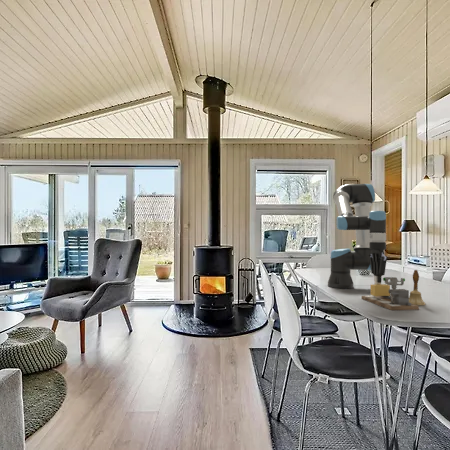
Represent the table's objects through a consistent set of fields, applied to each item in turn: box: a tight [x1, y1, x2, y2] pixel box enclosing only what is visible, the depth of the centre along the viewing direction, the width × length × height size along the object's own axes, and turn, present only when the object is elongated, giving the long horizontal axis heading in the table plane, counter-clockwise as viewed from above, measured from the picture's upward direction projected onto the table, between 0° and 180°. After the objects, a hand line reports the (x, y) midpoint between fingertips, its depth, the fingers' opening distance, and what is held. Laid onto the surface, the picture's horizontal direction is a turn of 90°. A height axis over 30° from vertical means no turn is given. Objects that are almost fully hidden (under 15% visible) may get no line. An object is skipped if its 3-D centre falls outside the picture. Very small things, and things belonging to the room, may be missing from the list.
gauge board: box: [361, 288, 420, 311], centre depth 156 cm, size 24×13×8 cm, turn 8°
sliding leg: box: [370, 283, 391, 297], centre depth 161 cm, size 4×8×6 cm, turn 98°
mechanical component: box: [382, 276, 406, 297], centre depth 172 cm, size 3×10×10 cm, turn 79°
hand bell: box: [409, 269, 427, 306], centre depth 156 cm, size 8×8×16 cm
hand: (377, 288), depth 163 cm, fingers closed
